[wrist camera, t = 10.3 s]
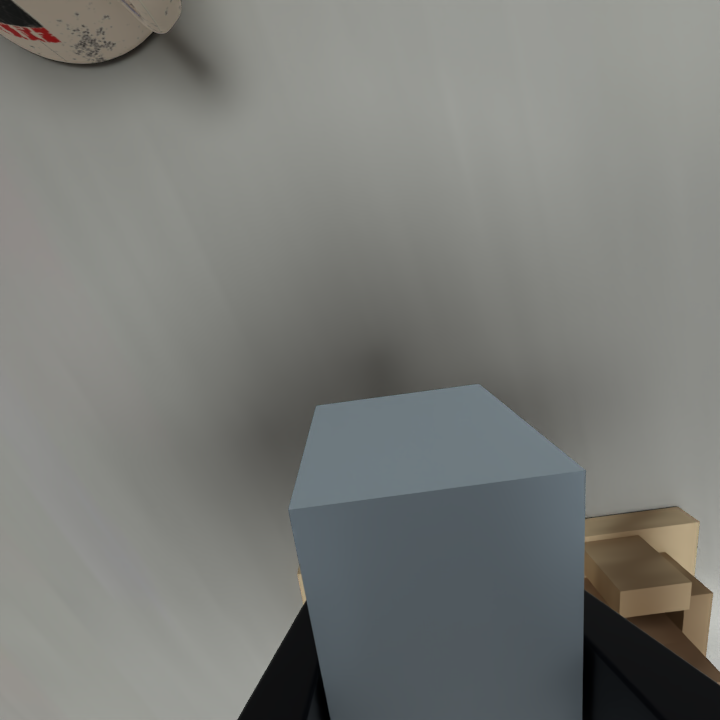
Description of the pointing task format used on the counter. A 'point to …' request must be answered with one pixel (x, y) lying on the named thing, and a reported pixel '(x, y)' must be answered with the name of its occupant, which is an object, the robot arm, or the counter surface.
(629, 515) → the jig
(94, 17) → the teacup with lid
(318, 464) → the light blue block
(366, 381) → the counter surface
